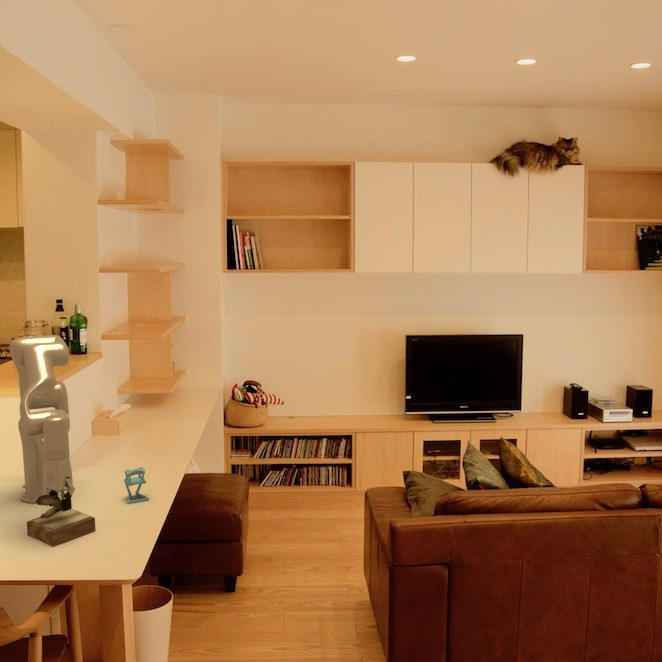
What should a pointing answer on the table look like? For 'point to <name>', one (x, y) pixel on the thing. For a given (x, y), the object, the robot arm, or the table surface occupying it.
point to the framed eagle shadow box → (61, 527)
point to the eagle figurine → (52, 501)
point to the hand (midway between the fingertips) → (60, 507)
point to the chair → (135, 483)
